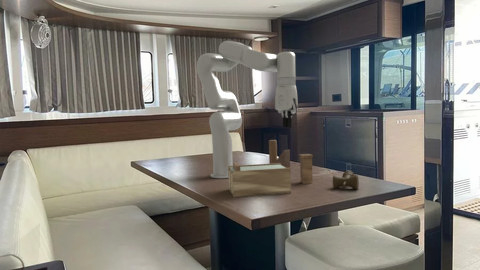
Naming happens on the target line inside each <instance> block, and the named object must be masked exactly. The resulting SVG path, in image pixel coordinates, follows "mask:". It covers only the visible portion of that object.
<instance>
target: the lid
mask: <svg viewBox="0 0 480 270" xmlns="http://www.w3.org/2000/svg"><path fill="white" fill-rule="evenodd" d="M277 168H285V167H284V166H282V165H264V166H247V167H240V164H239V163H238V162H233V167H230V170H231V171H245V170H261V169H277Z"/></svg>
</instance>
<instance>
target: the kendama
mask: <svg viewBox="0 0 480 270" xmlns="http://www.w3.org/2000/svg"><path fill="white" fill-rule="evenodd" d="M359 183H360V182H359V175H358V174H355V173H354V172H353V171H352V170H346V171H344V172H343V174H342V176H339V175H336V174H333V177H332V188H333V189H334V190H336V189H339V188H342V187H350V188H352V189H353V190H355V191H358V190H359Z"/></svg>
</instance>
